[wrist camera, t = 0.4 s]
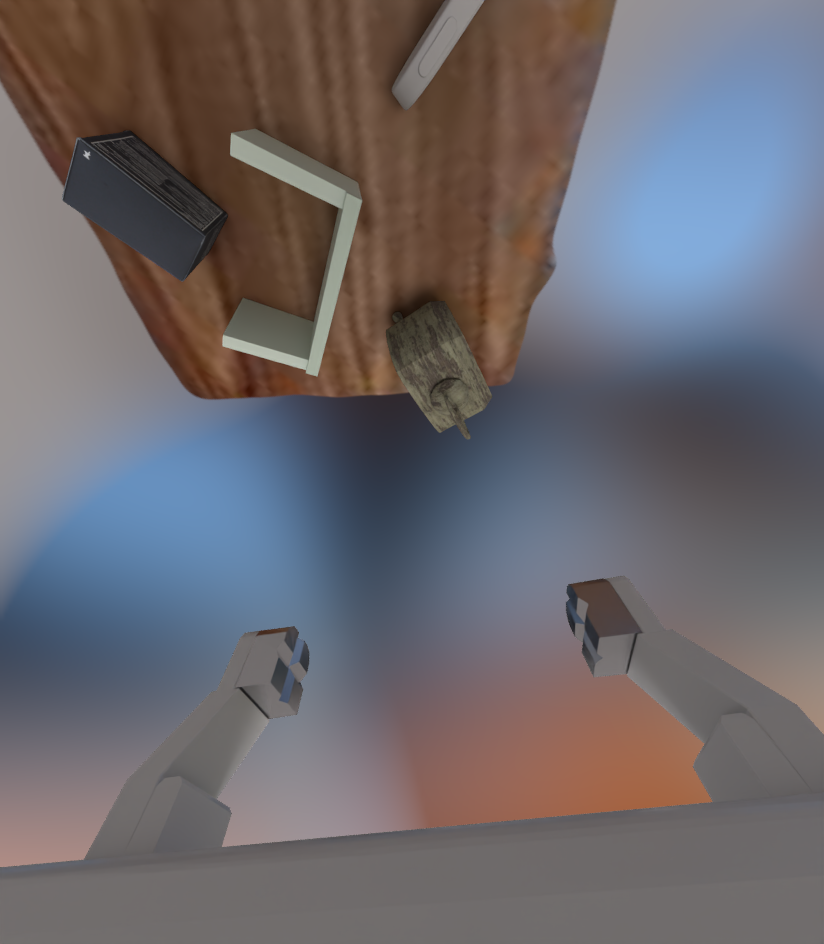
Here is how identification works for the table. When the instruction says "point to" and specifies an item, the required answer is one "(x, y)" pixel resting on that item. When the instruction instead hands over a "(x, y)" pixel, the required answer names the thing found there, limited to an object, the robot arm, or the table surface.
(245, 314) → the rack
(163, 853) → the robot arm
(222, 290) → the table surface
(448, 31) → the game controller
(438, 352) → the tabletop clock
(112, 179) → the small box
